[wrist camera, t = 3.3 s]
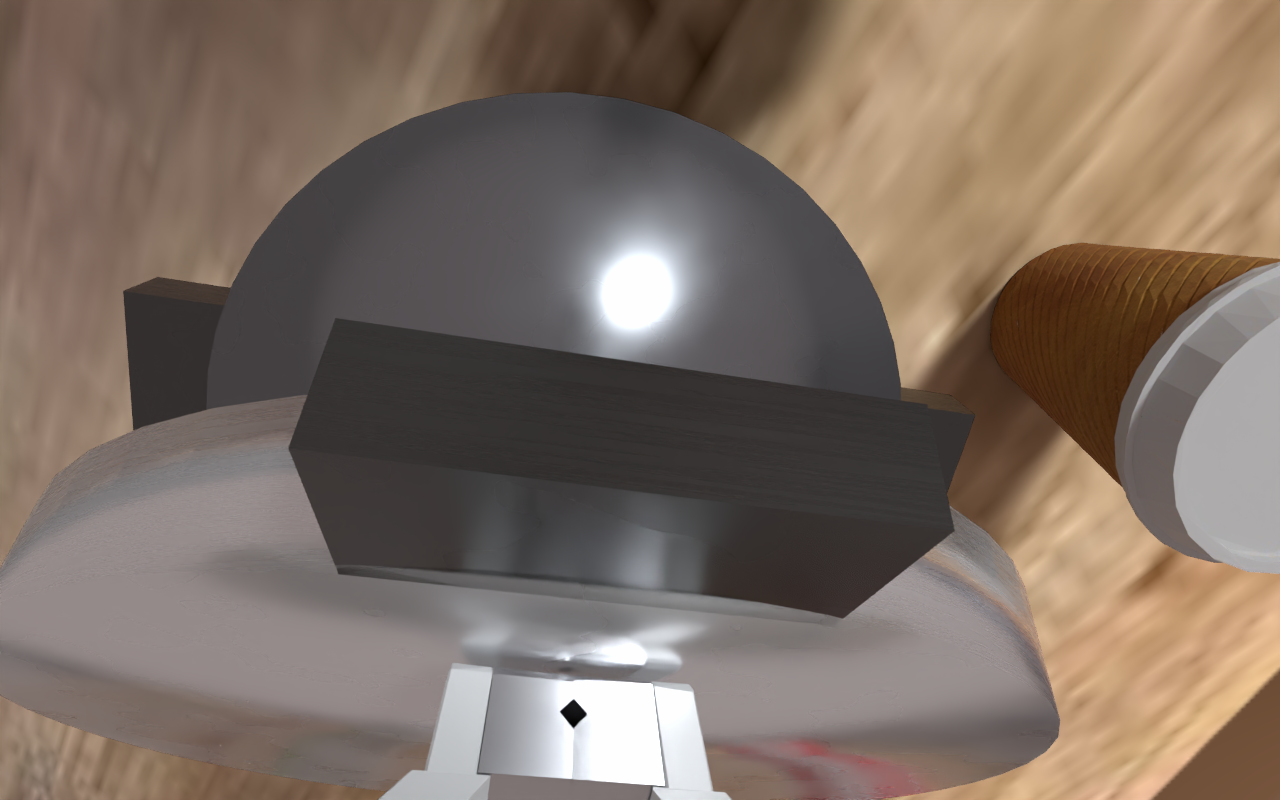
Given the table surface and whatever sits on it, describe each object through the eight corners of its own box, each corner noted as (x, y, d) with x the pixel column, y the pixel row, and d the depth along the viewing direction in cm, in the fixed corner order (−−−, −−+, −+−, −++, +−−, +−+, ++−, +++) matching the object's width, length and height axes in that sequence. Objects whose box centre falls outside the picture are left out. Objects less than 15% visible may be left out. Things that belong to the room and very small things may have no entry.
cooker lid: (-545, 102, 6) (-1275, 563, 3) (1495, 425, 8) (1780, 819, 6) (213, 704, 22) (162, 848, 20) (806, 752, 24) (816, 886, 22)
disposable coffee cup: (958, 444, 33) (1148, 619, 22) (944, 231, 29) (1164, 309, 18) (1170, 396, 33) (1472, 547, 22) (1183, 176, 29) (1553, 220, 18)
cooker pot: (276, 37, 25) (66, -8, 15) (906, 157, 28) (1089, 188, 18) (275, 527, 32) (130, 726, 22) (782, 584, 35) (864, 782, 25)
